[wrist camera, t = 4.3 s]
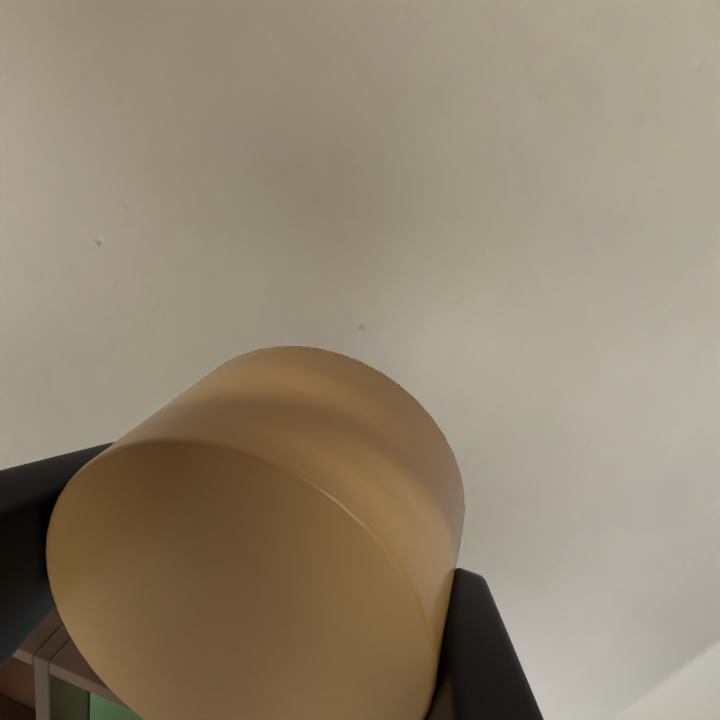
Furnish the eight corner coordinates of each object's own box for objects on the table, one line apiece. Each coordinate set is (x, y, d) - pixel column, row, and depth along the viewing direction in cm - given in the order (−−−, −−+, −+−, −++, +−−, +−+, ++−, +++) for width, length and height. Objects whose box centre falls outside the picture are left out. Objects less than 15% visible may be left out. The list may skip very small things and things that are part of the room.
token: (508, 405, 8) (499, 541, 5) (418, 649, 10) (377, 839, 7) (189, 304, 9) (39, 376, 6) (166, 549, 11) (45, 685, 8)
